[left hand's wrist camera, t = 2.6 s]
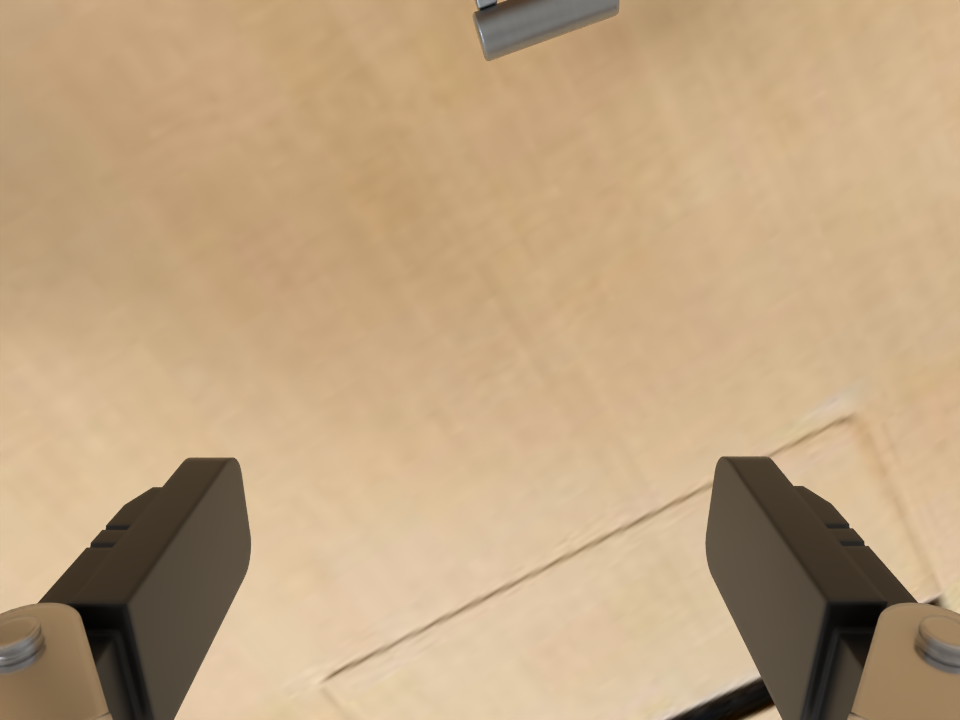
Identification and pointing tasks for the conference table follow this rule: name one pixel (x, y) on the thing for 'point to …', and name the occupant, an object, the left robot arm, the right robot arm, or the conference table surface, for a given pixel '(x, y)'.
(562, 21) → the drawer
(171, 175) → the conference table surface
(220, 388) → the conference table surface
